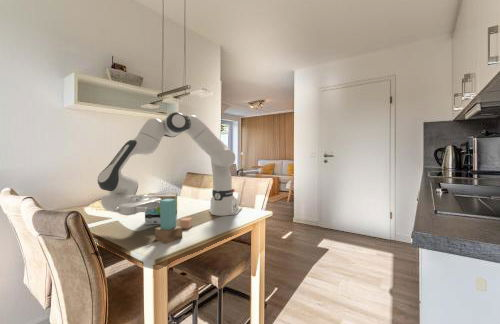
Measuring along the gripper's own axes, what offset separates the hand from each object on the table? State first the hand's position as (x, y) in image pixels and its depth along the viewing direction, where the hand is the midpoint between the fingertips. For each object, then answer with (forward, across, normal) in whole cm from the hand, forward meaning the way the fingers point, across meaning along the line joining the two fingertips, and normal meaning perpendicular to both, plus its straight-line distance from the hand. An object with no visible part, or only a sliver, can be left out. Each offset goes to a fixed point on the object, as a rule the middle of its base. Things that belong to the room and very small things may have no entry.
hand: (155, 207), depth 107 cm
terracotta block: (+4, +16, +13) cm, 21 cm away
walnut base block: (+7, 0, +13) cm, 15 cm away
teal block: (+7, 0, +8) cm, 11 cm away
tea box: (-13, +18, +13) cm, 26 cm away
